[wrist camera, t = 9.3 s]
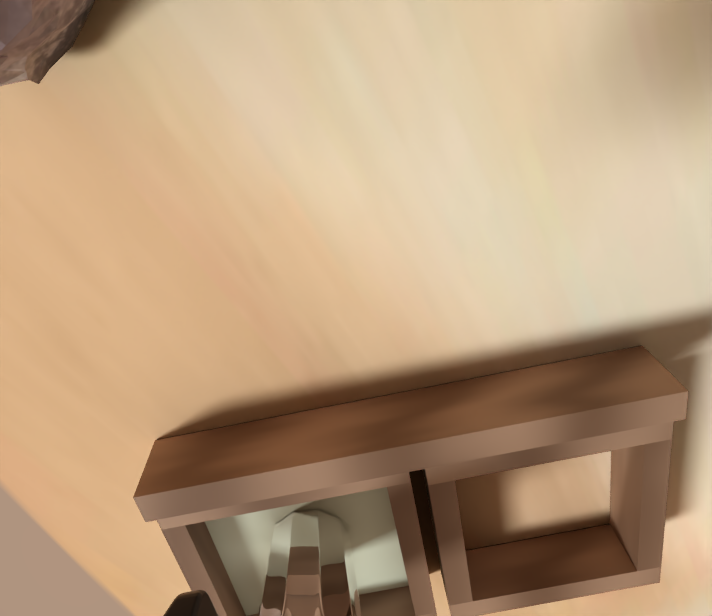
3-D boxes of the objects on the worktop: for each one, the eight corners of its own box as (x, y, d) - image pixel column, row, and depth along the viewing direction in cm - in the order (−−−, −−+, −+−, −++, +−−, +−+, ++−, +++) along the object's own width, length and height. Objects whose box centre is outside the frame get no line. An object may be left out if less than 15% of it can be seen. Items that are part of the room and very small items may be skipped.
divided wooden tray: (642, 345, 22) (688, 391, 19) (632, 537, 26) (668, 595, 24) (155, 440, 22) (133, 497, 20) (233, 611, 27) (224, 676, 24)
